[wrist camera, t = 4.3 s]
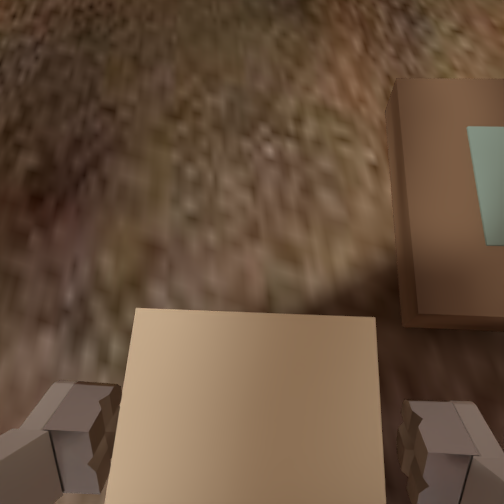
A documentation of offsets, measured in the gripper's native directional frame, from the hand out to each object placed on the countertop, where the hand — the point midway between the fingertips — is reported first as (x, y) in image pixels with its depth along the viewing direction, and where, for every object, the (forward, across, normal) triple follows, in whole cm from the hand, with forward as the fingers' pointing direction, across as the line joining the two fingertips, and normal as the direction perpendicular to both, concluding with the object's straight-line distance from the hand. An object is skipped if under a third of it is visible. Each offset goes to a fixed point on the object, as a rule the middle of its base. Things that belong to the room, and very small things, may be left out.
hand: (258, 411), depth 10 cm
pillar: (+3, 0, +4) cm, 5 cm away
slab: (+10, -10, -2) cm, 14 cm away
